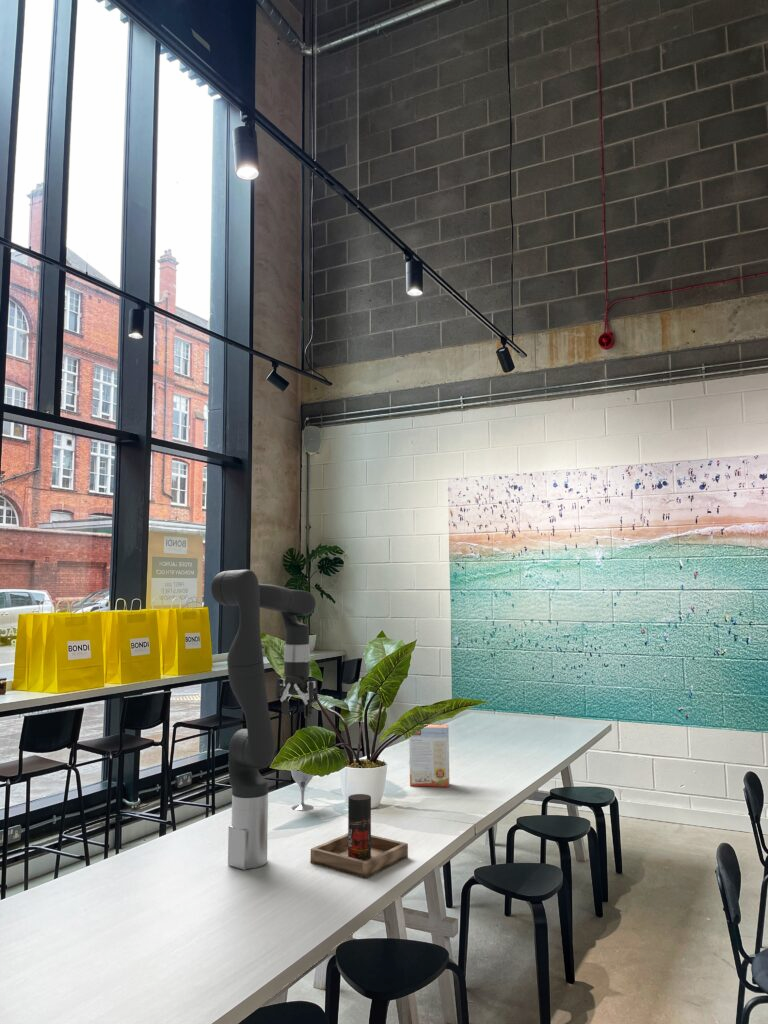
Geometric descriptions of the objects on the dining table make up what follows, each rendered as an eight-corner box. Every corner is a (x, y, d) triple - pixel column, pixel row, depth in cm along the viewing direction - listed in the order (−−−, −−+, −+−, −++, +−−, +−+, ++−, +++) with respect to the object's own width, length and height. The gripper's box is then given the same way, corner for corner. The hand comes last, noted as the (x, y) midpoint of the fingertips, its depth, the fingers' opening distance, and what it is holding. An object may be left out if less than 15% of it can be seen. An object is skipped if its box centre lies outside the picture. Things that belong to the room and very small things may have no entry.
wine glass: (285, 807, 243) (285, 759, 244) (304, 802, 248) (305, 755, 250) (300, 812, 237) (301, 763, 239) (320, 807, 243) (320, 759, 244)
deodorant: (343, 857, 195) (343, 797, 197) (358, 851, 200) (358, 792, 201) (361, 862, 191) (361, 801, 193) (375, 856, 196) (375, 796, 198)
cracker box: (449, 783, 273) (449, 724, 275) (448, 787, 267) (448, 727, 269) (411, 782, 275) (410, 723, 277) (409, 786, 269) (409, 726, 271)
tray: (366, 878, 183) (366, 863, 183) (310, 863, 193) (310, 848, 194) (407, 857, 197) (407, 843, 198) (353, 844, 208) (353, 830, 208)
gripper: (270, 659, 223) (269, 715, 221) (306, 662, 214) (306, 720, 213) (287, 657, 229) (287, 712, 227) (323, 660, 220) (323, 716, 219)
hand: (296, 716), depth 220 cm, fingers open, 8 cm apart
